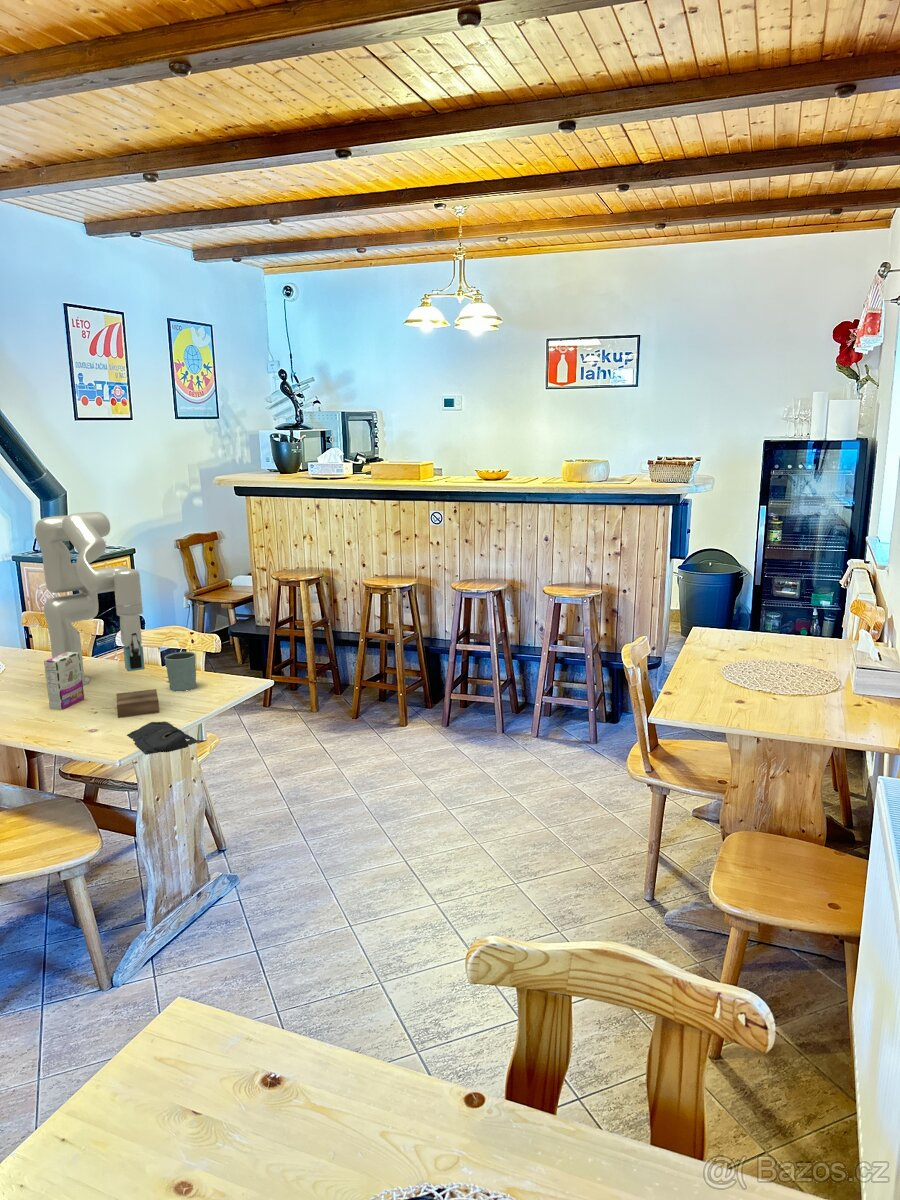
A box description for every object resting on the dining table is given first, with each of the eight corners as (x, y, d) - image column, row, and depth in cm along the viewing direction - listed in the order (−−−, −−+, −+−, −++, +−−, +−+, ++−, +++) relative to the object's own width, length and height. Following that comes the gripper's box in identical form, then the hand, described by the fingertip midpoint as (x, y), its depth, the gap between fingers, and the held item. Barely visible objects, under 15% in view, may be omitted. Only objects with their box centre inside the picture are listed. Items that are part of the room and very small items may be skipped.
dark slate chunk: (174, 726, 240) (172, 711, 239) (202, 748, 223) (201, 732, 222) (121, 738, 230) (120, 722, 229) (147, 761, 213) (145, 745, 212)
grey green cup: (201, 690, 272) (198, 656, 270) (170, 695, 267) (167, 660, 265) (193, 682, 281) (191, 650, 279) (164, 687, 276) (161, 654, 274)
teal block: (125, 667, 250) (123, 646, 249) (141, 665, 253) (140, 644, 251) (127, 671, 246) (125, 649, 245) (144, 669, 248) (142, 647, 247)
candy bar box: (71, 699, 264) (66, 651, 261) (85, 699, 263) (80, 652, 260) (48, 710, 253) (43, 660, 250) (62, 711, 252) (57, 661, 249)
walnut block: (117, 708, 256) (116, 693, 255) (157, 703, 260) (156, 689, 259) (118, 720, 245) (116, 704, 244) (159, 715, 249) (158, 699, 248)
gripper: (112, 605, 251) (117, 661, 255) (120, 615, 237) (126, 674, 240) (137, 603, 255) (142, 658, 258) (147, 612, 240) (152, 670, 244)
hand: (134, 665), depth 249 cm, fingers closed on teal block, 5 cm apart
